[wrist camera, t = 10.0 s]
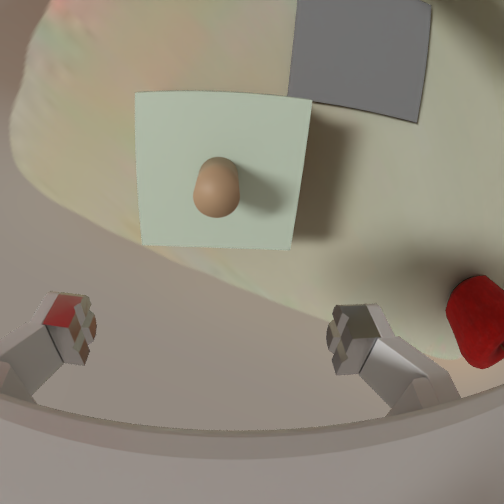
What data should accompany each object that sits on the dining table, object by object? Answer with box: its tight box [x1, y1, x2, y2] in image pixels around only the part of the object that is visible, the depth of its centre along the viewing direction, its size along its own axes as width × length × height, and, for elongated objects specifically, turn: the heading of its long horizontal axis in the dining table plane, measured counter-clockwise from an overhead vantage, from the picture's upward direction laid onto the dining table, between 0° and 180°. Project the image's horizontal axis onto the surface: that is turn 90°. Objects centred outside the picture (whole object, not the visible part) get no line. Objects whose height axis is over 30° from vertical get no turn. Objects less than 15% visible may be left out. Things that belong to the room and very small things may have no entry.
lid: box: [135, 90, 312, 250], centre depth 21 cm, size 12×12×5 cm
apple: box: [445, 276, 504, 369], centre depth 34 cm, size 11×10×14 cm
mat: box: [287, 0, 431, 123], centre depth 22 cm, size 13×13×1 cm
